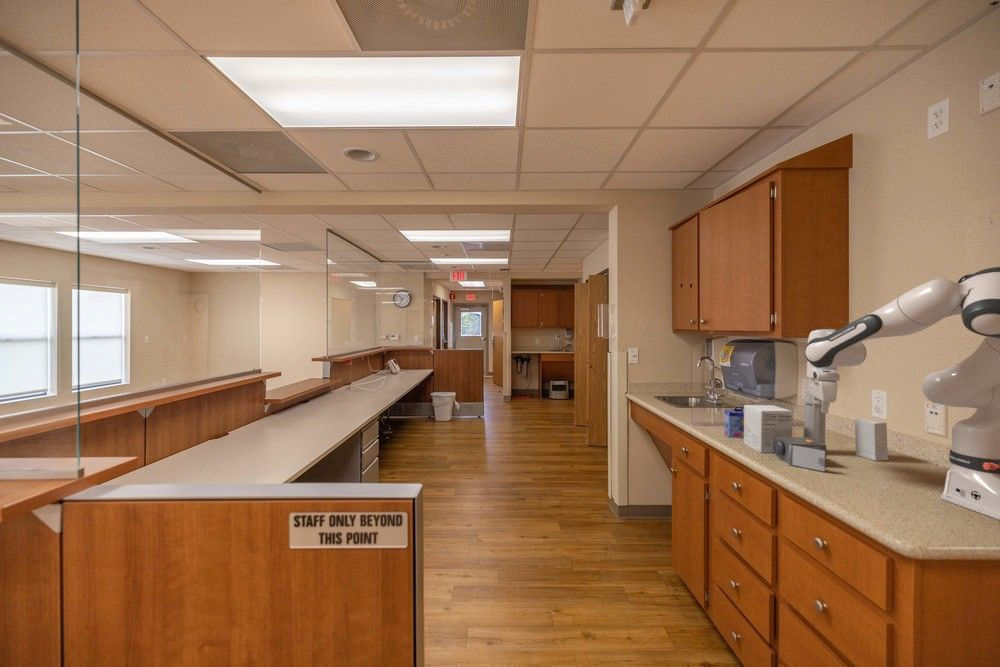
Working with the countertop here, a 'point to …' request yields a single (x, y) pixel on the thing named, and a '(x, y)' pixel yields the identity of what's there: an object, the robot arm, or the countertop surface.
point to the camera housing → (783, 445)
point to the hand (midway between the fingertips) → (820, 410)
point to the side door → (807, 458)
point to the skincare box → (871, 439)
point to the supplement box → (766, 426)
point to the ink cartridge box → (734, 422)
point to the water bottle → (813, 420)
